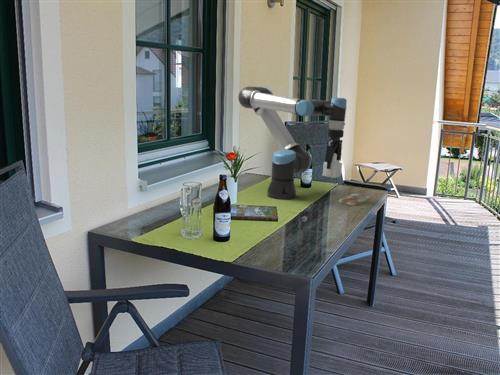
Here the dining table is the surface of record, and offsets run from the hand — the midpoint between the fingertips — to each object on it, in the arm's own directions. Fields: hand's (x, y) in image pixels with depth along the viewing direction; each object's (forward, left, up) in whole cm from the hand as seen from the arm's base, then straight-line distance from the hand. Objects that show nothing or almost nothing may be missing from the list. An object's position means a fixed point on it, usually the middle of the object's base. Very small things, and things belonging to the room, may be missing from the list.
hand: (331, 173), depth 251 cm
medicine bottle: (0, 0, -1) cm, 1 cm away
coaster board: (+11, +6, -13) cm, 18 cm away
